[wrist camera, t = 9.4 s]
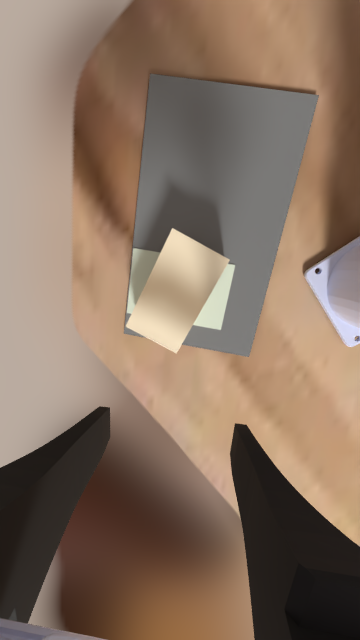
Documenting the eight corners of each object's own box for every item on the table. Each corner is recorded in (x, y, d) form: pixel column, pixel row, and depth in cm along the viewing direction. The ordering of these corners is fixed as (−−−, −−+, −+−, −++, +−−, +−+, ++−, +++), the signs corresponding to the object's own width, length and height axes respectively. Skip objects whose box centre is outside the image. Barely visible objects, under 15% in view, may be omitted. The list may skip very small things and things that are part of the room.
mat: (151, 77, 16) (149, 72, 16) (315, 99, 16) (319, 94, 15) (125, 332, 21) (123, 333, 21) (248, 355, 21) (249, 357, 20)
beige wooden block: (177, 234, 18) (172, 228, 15) (224, 260, 18) (229, 259, 15) (137, 316, 20) (125, 326, 17) (180, 339, 20) (176, 353, 17)
